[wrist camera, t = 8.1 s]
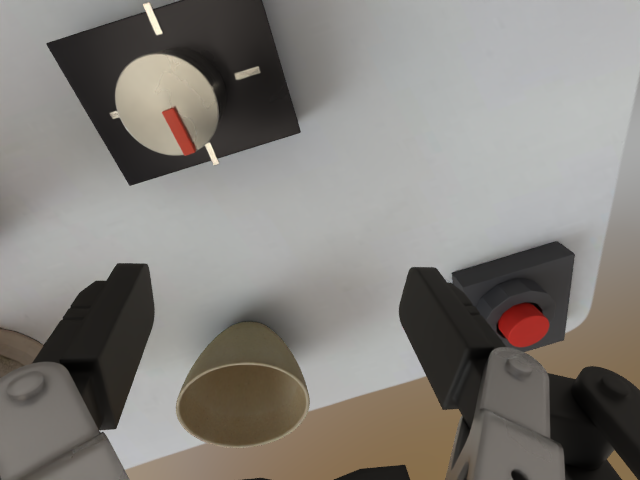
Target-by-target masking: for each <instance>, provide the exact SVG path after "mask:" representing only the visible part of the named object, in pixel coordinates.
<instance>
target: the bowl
mask: <svg viewBox="0 0 640 480" xmlns="http://www.w3.org/2000/svg"><path fill="white" fill-rule="evenodd" d="M309 404H310V401H309V394H308V390H307V386H306V383H305V380H304V377H303V375H302V372H301V370H300V367H299V365H298V363H297V361H296V359H295V358H294V356H293V354H292V353H291V351H290V350H289V348H288V347H287V345H286V344H285V343H284V342H283V340H282V339H281V338H280V337H279V336H278V335H277V334H276V333H275V332H273V331H272V330H271V329H270V328H268V327H267V326H265V325H263V324H261V323H257V322H240V323H237V324H234V325H232V326H230V327H229V328H227V329H226V330H224V331H223V332H222V333H221V334H219V335H218V336H217V337H216V338H215V339H214V340H213V341H212V342H211V343H210V344H209V345H208V346H207V347H206V348H205V350H204V351H203V352H202V353H201V355H200V356H199V357H198V359H197V360H196V362H195V363H194V365H193V367H192V368H191V370H190V372H189V374H188V376H187V377H186V380H185V382H184V384H183V386H182V388H181V391H180V393H179V396H178V399H177V403H176V414H177V417H178V420H179V422H180V424H181V425H182V426H183V427H184V429H185V430H186V431H187V432H189V433H190V434H191V435H193V436H194V437H196V438H198V439H200V440H201V441H204V442H206V443H209V444H213V445H217V446H221V447H230V448H245V447H255V446H260V445H264V444H268V443H271V442H274V441H276V440H279V439H281V438H283V437H284V436H286V435H288V434H289V433H291V432H292V431H294V430H295V429H296V428H297V427H298V426H299V425H300V424H301V423H302V421H303V420H304V418H305V417H306V415H307V413H308V410H309Z"/></svg>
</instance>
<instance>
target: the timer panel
mask: <svg viewBox="0 0 640 480" xmlns="http://www.w3.org/2000/svg"><path fill="white" fill-rule="evenodd" d="M143 6H144V9H145V11H146V12H143V13H140V14H137V15H134V16H131V17H127V18H124V19H121V20H118V21H115V22H112V23H109V24H105V25H102V26H99V27H96V28H93V29H90V30H87V31H83V32H80V33H77V34H74V35H71V36H68V37H65V38H61V39H58V40H55V41H52V42H49V43H47V46H48V48H49V49H50V51H51V53H52V55H53V56H54V58H55V60H56V61H57V63H58V65H59V66H60V68H61V70H62V72H63V73H64V75H65V77H66V78H67V80H68V82H69V83H70V85H71V87H72V89H73V90H74V92H75V94H76V95H77V97H78V99H79V100H80V102H81V104H82V106H83V107H84V109H85V111H86V112H87V114H88V116H89V117H90V119H91V121H92V123H93V124H94V126H95V128H96V129H97V131H98V133H99V134H100V136H101V138H102V140H103V141H104V143H105V145H106V146H107V148H108V150H109V151H110V153H111V155H112V157H113V158H114V160H115V162H116V163H117V165H118V167H119V168H120V170H121V172H122V174H123V175H124V177H125V179H126V180H127V182H128V184H129V185H130V186H131V185H134V184H137V183H140V182H144V181H147V180H150V179H153V178H156V177H160V176H163V175H166V174H169V173H172V172H176V171H179V170H182V169H185V168H188V167H192V166H195V165H198V164H201V163H204V162H208V161H211V160H212V162H213V165H218V164H219V161H218V158H221V157H224V156H227V155H230V154H233V153H237V152H240V151H243V150H246V149H249V148H253V147H256V146H259V145H262V144H265V143H269V142H272V141H275V140H278V139H281V138H285V137H288V136H291V135H294V134H298V133H300V132H301V131H300V128H299V124H298V121H297V118H296V114H295V111H294V107H293V104H292V101H291V97H290V94H289V90H288V87H287V84H286V80H285V77H284V73H283V70H282V67H281V63H280V60H279V57H278V53H277V50H276V46H275V43H274V40H273V36H272V33H271V29H270V26H269V23H268V19H267V16H266V12H265V9H264V6H263V2H262V0H181V1H178V2H174V3H171V4H168V5H165V6H162V7H159V8H156V9H153V8H152V5H151V3H150V2H148V3H145V4H143ZM170 48H185V49H189V50H193V51H195V52H197V53H199V54H201V55H203V56H204V57H206V58H207V59H208V60H209V61H210V62H211V63H212V64H213V65H214V66H215V67H216V68H217V70H218V71H219V73H220V75H221V77H222V79H223V82H224V84H225V89H226V105H225V109H224V112H223V114H222V116H221V119H220V121H219V123H218V126H217V128H216V130H215V133H214V135H213V136H212V138H211V139H210V140H209V142H208V143H207V144H206V145H205V146H203V147H202V148H201V149H199V150H197V151H196V152H195V153H192V154H189V155H186V156H184V155H180V156H172V155H165V154H161V153H158V152H155V151H153V150H150V149H148V148H147V147H145V146H143V145H142V144H141V143H139V142H138V141H137V140H136V139H135V138H134V137H133V136H132V135H131V134H130V133H129V132H128V131H127V129H126V128H125V126H124V125H123V123H122V121H121V119H120V117H119V114H118V112H117V108H116V103H115V88H116V83H117V80H118V78H119V76H120V74H121V72H122V71H123V69H124V68H125V67H126V66H127V65H128V64H129V63H130V62H131V61H133V60H134V59H136V58H138V57H140V56H142V55H146V54H150V53H154V52H158V51H162V50H166V49H170Z"/></svg>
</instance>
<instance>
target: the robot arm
mask: <svg viewBox="0 0 640 480" xmlns="http://www.w3.org/2000/svg"><path fill="white" fill-rule="evenodd" d="M399 317H400V321H401V324H402V326H403V328H404V330H405V332H406V335H407V337H408V339H409V341H410V343H411V345H412V347H413V349H414V351H415V353H416V355H417V357H418V359H419V361H420V363H421V365H422V368H423V370H424V372H425V374H426V376H427V378H428V380H429V382H430V384H431V386H432V388H433V390H434V392H435V394H436V396H437V398H438V401H439V403H440V405H441V407H442V409H443V410H447V409H459V410H460V412H461V414H462V417H461V419H460V421H459V424H458V428H457V432H456V436H455V441H454V445H453V449H452V453H451V458H450V462H449V466H448V470H447V474H446V478H445V480H622V479H621V478H620V477H619V475H618V474H617V473H616V471H615V470H614V469H613V467H612V466H611V465H610V463H609V462H608V461H607V458H608V457H609V456H610V454H611V453H612V452H613V451H614V450H615V451H616V452H617V453H618V455H619V456H620V457H621V458H622V459H623V461H624V462H625V463H626V465H627V466H628V467H629V468H630V470H631V471H632V472H633V473H634V475H635V476H636V477H637V479H638V480H640V390H639V389H638V388H637V387H636V386H634V385H633V384H632V383H631V382H629V381H628V380H627V379H625V378H624V377H622V376H620V375H618V374H616V373H614V372H612V371H610V370H607V369H604V368H601V367H593V366H591V367H585V368H584V369H583V370H582V371H581V372H580V374H579V375H578V377H577V378H576V379H572V378H567V377H563V376H558V375H554V374H549V373H547V372H546V370H545V369H544V368H543V366H542V365H541V364H540V363H539V362H538V361H537V360H535V359H534V358H533V357H531V356H530V355H528V354H526V353H524V352H522V351H520V350H517V349H514V348H509V347H506V346H505V344H504V343H503V342H502V340H501V339H500V338H499V337H498V335H497V334H496V333H495V332H494V330H493V329H492V328H491V326H490V325H489V324H488V323H487V321H486V320H485V319H484V317H483V316H482V315H480V312H479V311H478V310H477V308H476V307H475V306H473V303H472V302H471V301H470V299H469V298H468V297H467V296H466V294H465V293H464V292H463V291H461V290H460V289H459V288H457V287H456V286H454V285H453V284H452V283H447V282H446V281H445V279H444V278H443V276H442V275H441V274H440V272H439V271H438V270H437V269H436V268H434V267H412V268H411V269H410V270H409V272H408V275H407V279H406V283H405V286H404V290H403V294H402V298H401V301H400V305H399ZM153 322H154V300H153V293H152V286H151V278H150V271H149V267H148V265H147V264H133V263H118V264H117V265H116V266H115V268H114V269H113V271H112V272H111V274H110V276H109V277H108V279H107V281H95V282H94V283H92V284H91V285H89V286H88V287H87V288H85V289H84V290H83V291H81V292H80V293H79V294H78V296H77V297H76V299H75V300H74V302H73V303H72V305H71V308H70V309H68V311H67V312H66V314H65V315H64V316H63V320H61V321H60V322H59V324H58V325H57V327H56V328H55V330H54V331H53V333H52V334H51V336H50V337H49V339H48V340H47V342H46V343H45V344H44V346H43V347H42V349H41V350H40V352H39V353H38V355H37V356H36V358H35V359H34V361H33V362H32V364H29V365H25V366H23V367H20V368H18V369H15V370H13V371H11V372H10V373H8V374H6V375H5V376H3V377H2V378H0V480H129V478H128V476H127V474H126V472H125V470H124V468H123V466H122V464H121V462H120V460H119V459H118V457H117V455H116V453H115V451H114V449H113V447H112V445H111V443H110V442H109V440H108V438H107V436H106V435H105V433H104V432H102V433H100V431H99V430H110V429H116V428H117V425H118V422H119V419H120V417H121V414H122V411H123V408H124V405H125V402H126V400H127V397H128V394H129V391H130V388H131V386H132V383H133V380H134V377H135V374H136V372H137V369H138V366H139V363H140V360H141V358H142V355H143V352H144V349H145V346H146V344H147V341H148V338H149V335H150V332H151V330H152V326H153ZM244 480H270V479H264V478H255V479H244ZM334 480H410V478H409V475H408V472H407V469H406V466H405V465H399V466H387V467H377V468H366V469H359V470H357V471H354V472H352V473H349V474H347V475H344V476H342V477H339V478H337V479H334Z"/></svg>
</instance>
